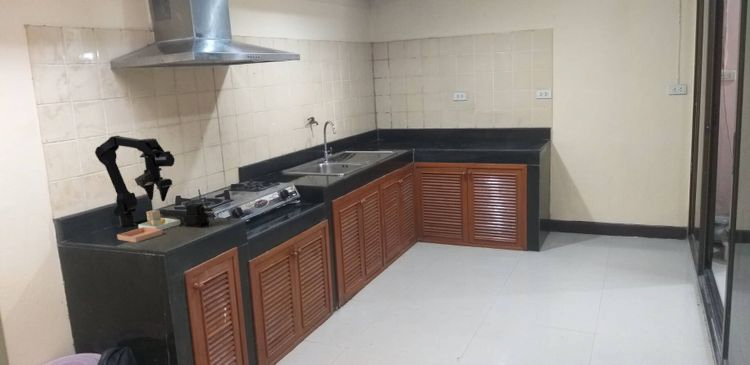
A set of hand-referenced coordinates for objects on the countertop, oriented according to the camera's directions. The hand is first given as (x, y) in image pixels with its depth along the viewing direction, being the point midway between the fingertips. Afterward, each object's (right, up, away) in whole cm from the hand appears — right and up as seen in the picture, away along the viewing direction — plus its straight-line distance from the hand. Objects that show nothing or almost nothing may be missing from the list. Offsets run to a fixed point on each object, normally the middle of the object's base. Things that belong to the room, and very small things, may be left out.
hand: (157, 200), depth 273 cm
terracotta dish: (-2, -16, -15) cm, 22 cm away
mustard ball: (+1, -11, +4) cm, 12 cm away
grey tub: (+1, -12, +1) cm, 12 cm away
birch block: (0, -13, -2) cm, 13 cm away
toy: (+21, -12, -3) cm, 24 cm away
